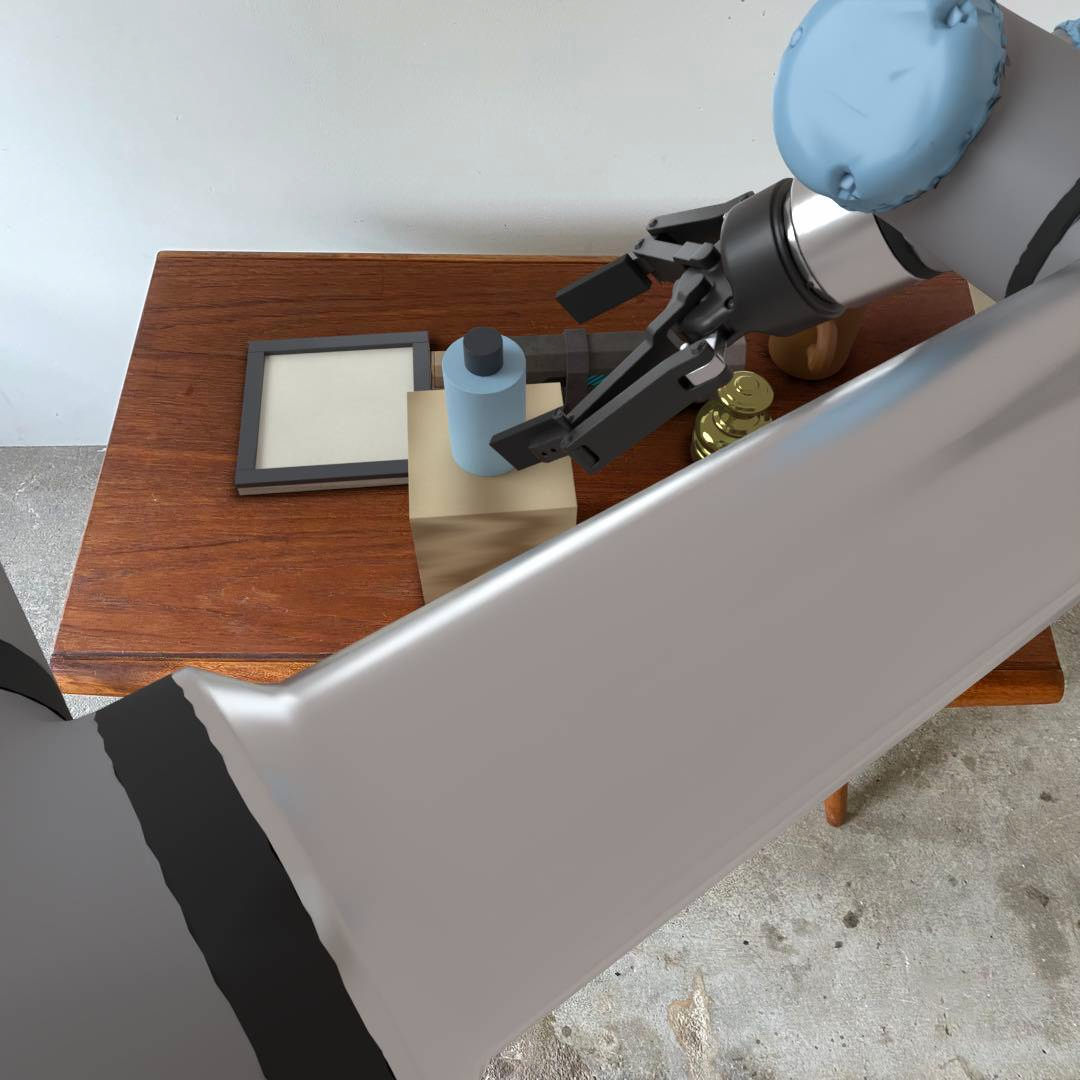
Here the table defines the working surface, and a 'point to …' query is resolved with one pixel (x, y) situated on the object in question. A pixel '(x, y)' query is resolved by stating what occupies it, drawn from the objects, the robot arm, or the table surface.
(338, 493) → the table surface
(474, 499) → the stand
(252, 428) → the whiteboard
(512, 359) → the cleaner bottle
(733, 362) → the tube
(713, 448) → the brass weight
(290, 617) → the table surface
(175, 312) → the table surface
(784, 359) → the mug
